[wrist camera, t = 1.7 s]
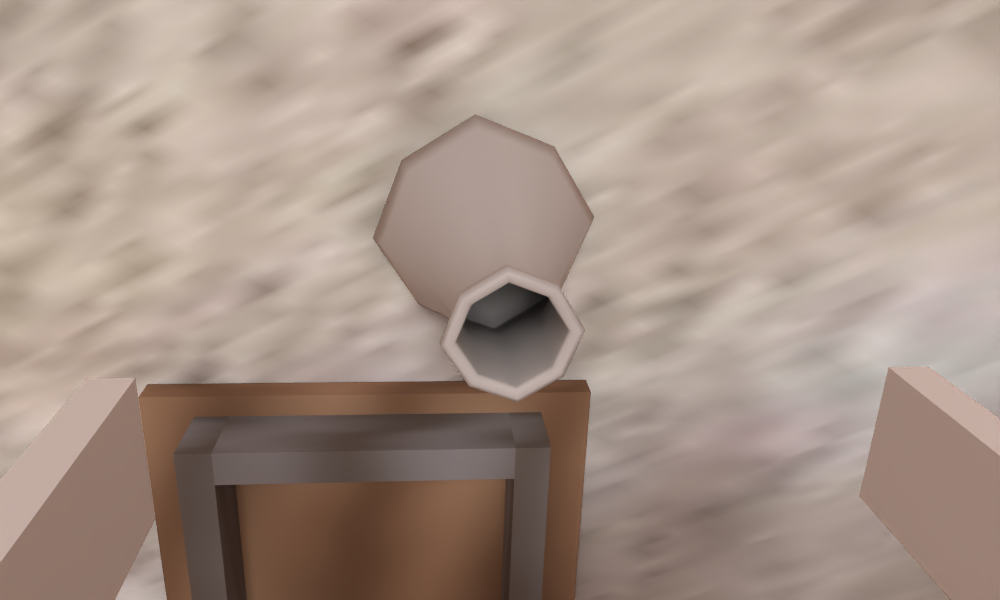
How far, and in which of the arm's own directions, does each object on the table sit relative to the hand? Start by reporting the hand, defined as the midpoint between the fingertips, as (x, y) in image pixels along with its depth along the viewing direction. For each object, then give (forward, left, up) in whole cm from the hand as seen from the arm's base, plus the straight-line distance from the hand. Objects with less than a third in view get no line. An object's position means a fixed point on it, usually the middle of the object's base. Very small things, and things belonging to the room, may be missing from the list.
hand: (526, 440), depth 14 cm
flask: (0, 0, -15) cm, 15 cm away
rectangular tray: (+4, +13, -15) cm, 20 cm away
